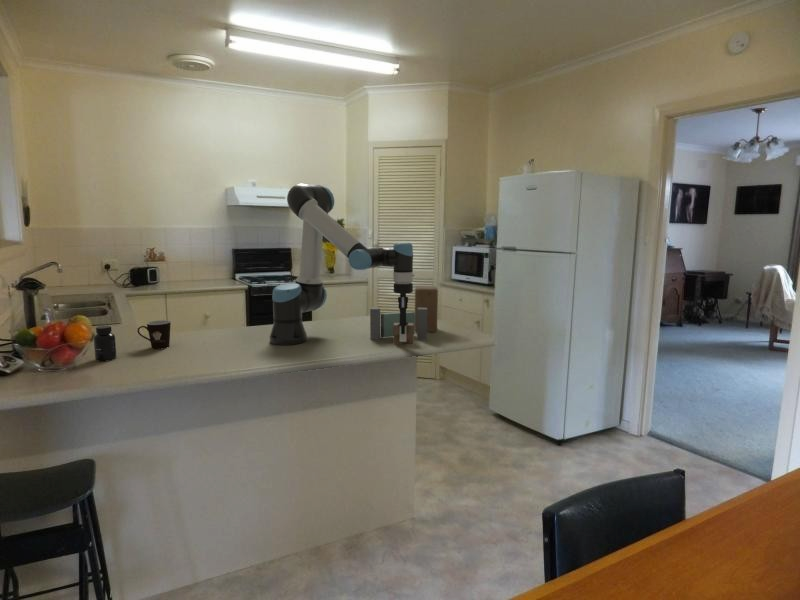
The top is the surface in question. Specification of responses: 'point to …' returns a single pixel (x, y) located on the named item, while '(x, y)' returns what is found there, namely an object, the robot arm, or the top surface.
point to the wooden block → (427, 305)
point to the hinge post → (375, 323)
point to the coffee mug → (158, 333)
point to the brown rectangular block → (408, 334)
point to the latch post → (422, 323)
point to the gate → (392, 318)
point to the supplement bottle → (104, 344)
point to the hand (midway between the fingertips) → (402, 341)
